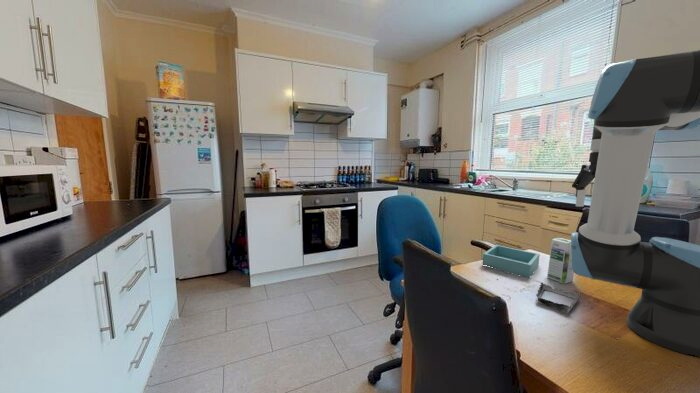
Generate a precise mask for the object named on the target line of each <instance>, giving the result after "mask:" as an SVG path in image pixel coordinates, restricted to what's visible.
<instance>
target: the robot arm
mask: <svg viewBox="0 0 700 393" xmlns="http://www.w3.org/2000/svg"><path fill="white" fill-rule="evenodd" d="M587 117H588V119H591V120H593V129H592V138H591V143H590V149H589V151H591V152H590V153H589V159H588V162H589V163H590V164H582V165H581V168H580V170H579V173H578V174H577V175H576V178H575V179H574V181H573V182H572V184H571V187H572V188H574V189H575V198H576V199H575V207H578V208H579V207H584V206H585V200H586V191H587V190H586V187H587V186H589V184H590V183H592V181H593V180H594V181H593V187H592V193H591V200H590V204H589V212H588V217H587V223H584V224H582V225H581V226H579V228H578V232H577V231H575V232H572V233H571V234H570V240H571V255H572V269H573V271H574V274H575V275H577V276H580V277H583V278H584V277H585V278H588V279H591V280H594V281H596V280H597V281H602V282H607V283H610V284H611V283H612V284H616V285H620V286H625V287H629V288H633V289H634V288H636V289H640V290H641V293H640V294H641V295H640V298H638V300H637V302H636V303H635V304H634V305H633V307H632V308H631V309H630V310H629V311H628V314H627V317H626V325H627V326H628V327H629V329H630V330H631V331H633V332H634V333H635V334H637V335H638V336H640V337H642V338H644V339H645V340H648V341H650V342H652V343H654V344H656V345H659V346H660V347H664V348H666V349H669V350H671V351H674V352H678V353H681V354H684V353H685V354H684V355H688V354H691V355H690V356H692V355H695V356H694V357H697V356H700V245H699V244H695V243H691V242H687V241H683V240H680V239H675V238H674V239H673V238H669V237H659V236H653V237H651V238H650V239H649V241H648V242H645V241H642V239H641V238H642V237H641V235H640V234H639V233H638V232H636V231H635V225H636V220H637V216H638V212H639V207H640V204H641V198H642V194H643V189H644V185H645V181H646V180H645V179H646V178H647V176H646V175H647V173H648V172H647V171H648V167H649V163H650V158H651V155H652V154H651V153H652V149H653V145H654V140H655V135H656V133H657V132H658V131H683V130H691V129H692V130H693V129H695V128H697V127H698V126H699V125H700V49H698V50H692V51H686V52H677V53H673V54H664V55H656V56H650V57H643V58H641V57H640V58H633V59H632V58H631V59H630V60H628V59H627V60H625V61H620V62H615V63H611V64H608V65H607V66H605V67H604V68H603V70H602V71H601V72H600V75H599V78H598V80H597V84H596V85H595V89H594V92H593V94H592V99H591V102H590V107H589V110H588V116H587Z"/></svg>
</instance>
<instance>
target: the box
mask: <svg viewBox="0 0 700 393" xmlns="http://www.w3.org/2000/svg"><path fill="white" fill-rule="evenodd" d="M540 256H541V255H540V253H537V252H536V253H535V252H532V251H528V250H527V251H526V250H523V249H518V248H512V247H509V246H508V247H507V246H505V245H499V244H495V245H494V246H493V247H491V248H490V249H488V250H487V251H485V252H483V255H482V262H481V263H482V264H483V265H487V266H490V267H493V268H496V269H499V270H498V271H500V270H502V271H501V272H504V271H506V272H505V273H507V272H509V273H508V274H511V273H513V274H512V275H515V274H516V275H515V276H519V275H520V277H522V276H524V277H523V278H526V277H527V278H526V279H530V278H531V277H532V276H533V274H534V273H535V271H536V270H537V269H538V267H539V264H540V263H539V262H540ZM493 268H492V269H493ZM496 269H495V270H496ZM533 272H534V273H533ZM530 276H531V277H530Z"/></svg>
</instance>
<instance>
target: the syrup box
mask: <svg viewBox="0 0 700 393" xmlns="http://www.w3.org/2000/svg"><path fill="white" fill-rule="evenodd" d="M549 252H550V253H549V260H548V267H547V268H548V269H547V274H546V275H547V276H546V277H547V279H550V280H553V281H556V282H558V283H561V284H563V285H565V284H569V283H570V282H573V281H574V276H575V273H574V271H573V269H572V255H571V239H566V238H562V237H556V238H552V239H551V243H550V250H549Z"/></svg>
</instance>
